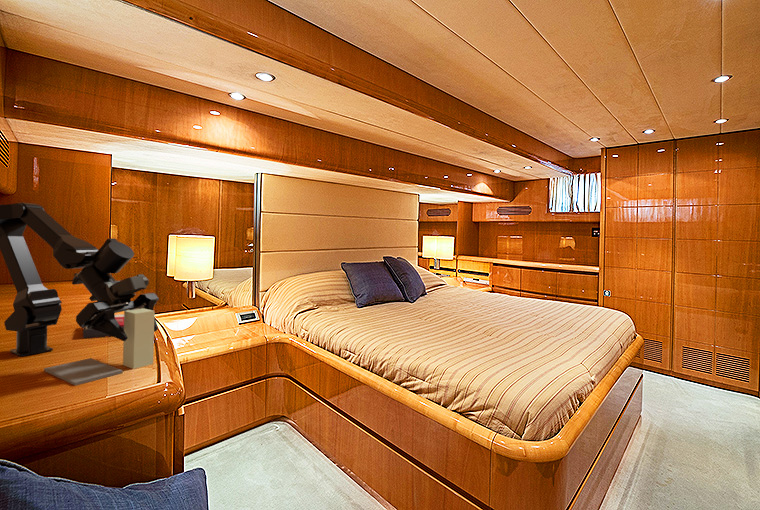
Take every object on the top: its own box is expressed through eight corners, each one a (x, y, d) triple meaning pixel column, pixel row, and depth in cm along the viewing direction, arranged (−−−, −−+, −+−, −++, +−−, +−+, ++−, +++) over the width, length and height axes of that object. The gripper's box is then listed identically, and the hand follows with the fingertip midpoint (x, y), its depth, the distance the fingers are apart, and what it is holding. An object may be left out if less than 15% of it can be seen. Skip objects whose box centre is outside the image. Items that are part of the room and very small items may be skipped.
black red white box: (83, 327, 108) (88, 314, 121) (82, 341, 109) (87, 327, 121) (128, 324, 114) (129, 312, 127) (128, 337, 115) (128, 324, 127)
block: (122, 365, 89) (124, 310, 89) (142, 360, 93) (143, 308, 93) (133, 369, 87) (135, 313, 87) (153, 363, 91) (154, 310, 91)
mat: (44, 371, 83) (44, 368, 83) (90, 360, 91) (90, 358, 91) (75, 385, 77) (75, 382, 77) (122, 372, 85) (122, 370, 84)
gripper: (87, 266, 81) (131, 321, 80) (153, 262, 99) (189, 306, 98) (56, 300, 83) (98, 354, 81) (126, 289, 101) (162, 333, 100)
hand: (141, 334), depth 90 cm, fingers open, 9 cm apart
